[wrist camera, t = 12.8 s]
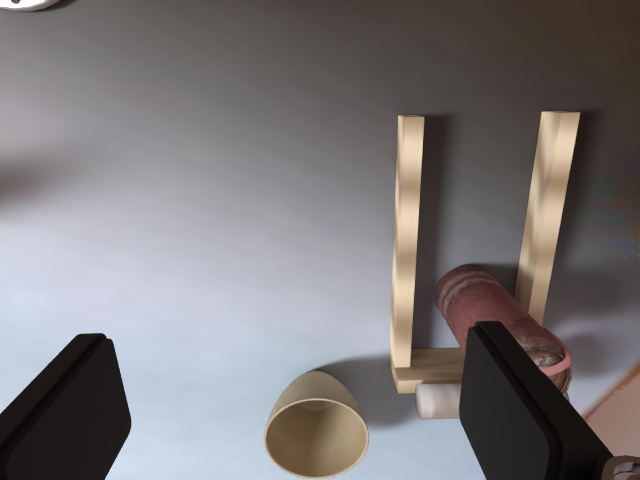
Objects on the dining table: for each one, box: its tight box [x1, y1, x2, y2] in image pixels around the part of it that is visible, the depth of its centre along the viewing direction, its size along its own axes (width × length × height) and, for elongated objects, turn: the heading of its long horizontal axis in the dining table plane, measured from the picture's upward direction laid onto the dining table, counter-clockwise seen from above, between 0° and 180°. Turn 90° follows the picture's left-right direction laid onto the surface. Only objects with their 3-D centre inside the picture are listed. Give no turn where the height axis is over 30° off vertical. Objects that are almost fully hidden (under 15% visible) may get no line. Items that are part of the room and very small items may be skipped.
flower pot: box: [264, 371, 369, 479], centre depth 42 cm, size 10×10×7 cm
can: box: [435, 265, 572, 395], centre depth 35 cm, size 6×6×14 cm
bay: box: [389, 111, 580, 420], centre depth 35 cm, size 28×16×10 cm, turn 1°
